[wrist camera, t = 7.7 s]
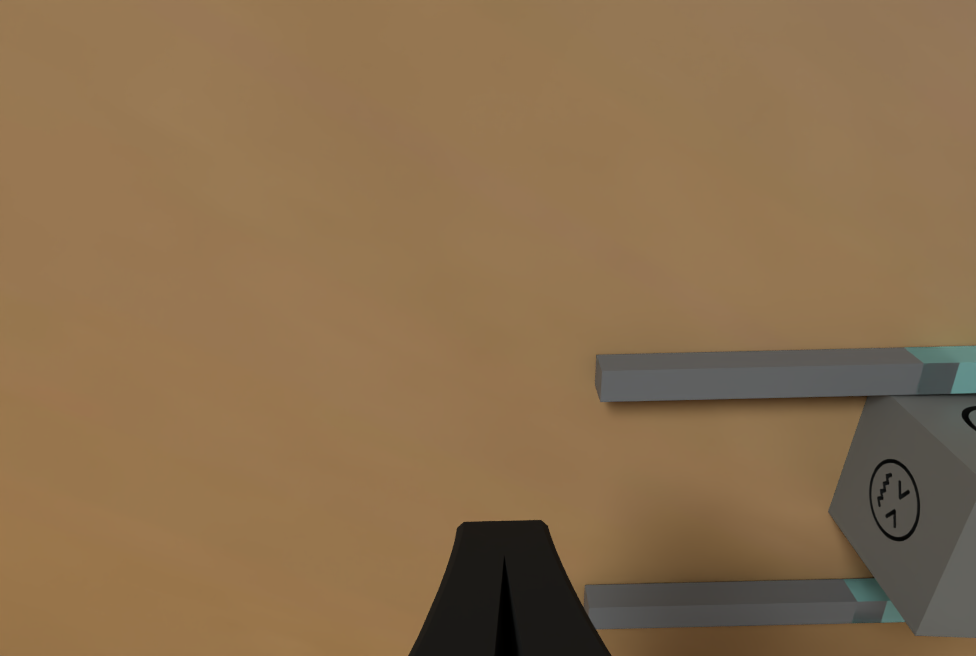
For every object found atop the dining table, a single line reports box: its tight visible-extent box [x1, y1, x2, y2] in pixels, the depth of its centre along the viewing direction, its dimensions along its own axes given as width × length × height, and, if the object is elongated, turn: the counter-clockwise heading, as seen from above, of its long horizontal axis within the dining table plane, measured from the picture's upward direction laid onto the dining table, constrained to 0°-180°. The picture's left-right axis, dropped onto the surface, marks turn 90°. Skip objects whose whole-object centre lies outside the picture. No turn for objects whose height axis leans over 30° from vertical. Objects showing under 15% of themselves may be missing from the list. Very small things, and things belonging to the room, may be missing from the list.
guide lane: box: [584, 346, 976, 629], centre depth 21 cm, size 10×16×2 cm, turn 91°
